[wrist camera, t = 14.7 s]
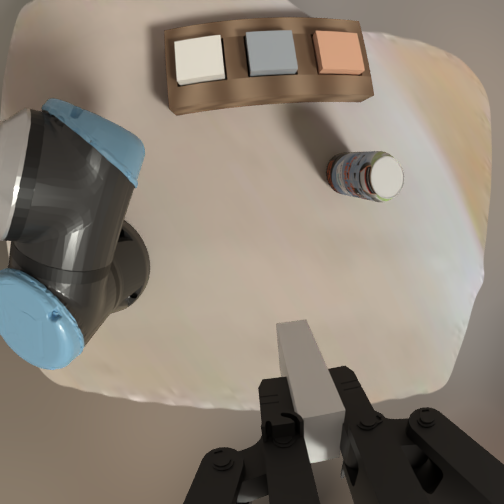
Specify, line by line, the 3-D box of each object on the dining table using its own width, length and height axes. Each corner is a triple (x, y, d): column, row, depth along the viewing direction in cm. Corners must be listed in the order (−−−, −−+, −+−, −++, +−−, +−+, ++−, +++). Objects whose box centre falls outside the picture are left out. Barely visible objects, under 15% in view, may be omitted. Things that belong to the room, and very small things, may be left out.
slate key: (249, 80, 36) (250, 71, 32) (245, 43, 35) (245, 32, 31) (292, 77, 36) (297, 68, 33) (287, 41, 35) (291, 30, 31)
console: (176, 115, 40) (169, 108, 35) (171, 43, 37) (164, 30, 32) (360, 102, 40) (374, 95, 35) (348, 33, 37) (359, 21, 32)
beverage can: (321, 154, 42) (350, 149, 30) (367, 152, 42) (407, 148, 30) (325, 197, 44) (354, 206, 32) (370, 193, 44) (411, 202, 32)
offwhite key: (182, 89, 36) (176, 81, 32) (179, 52, 35) (174, 41, 31) (225, 82, 36) (224, 73, 32) (221, 46, 35) (220, 34, 31)
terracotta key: (315, 77, 36) (322, 68, 33) (309, 41, 35) (315, 30, 31) (354, 78, 37) (364, 70, 33) (347, 43, 35) (357, 33, 31)
